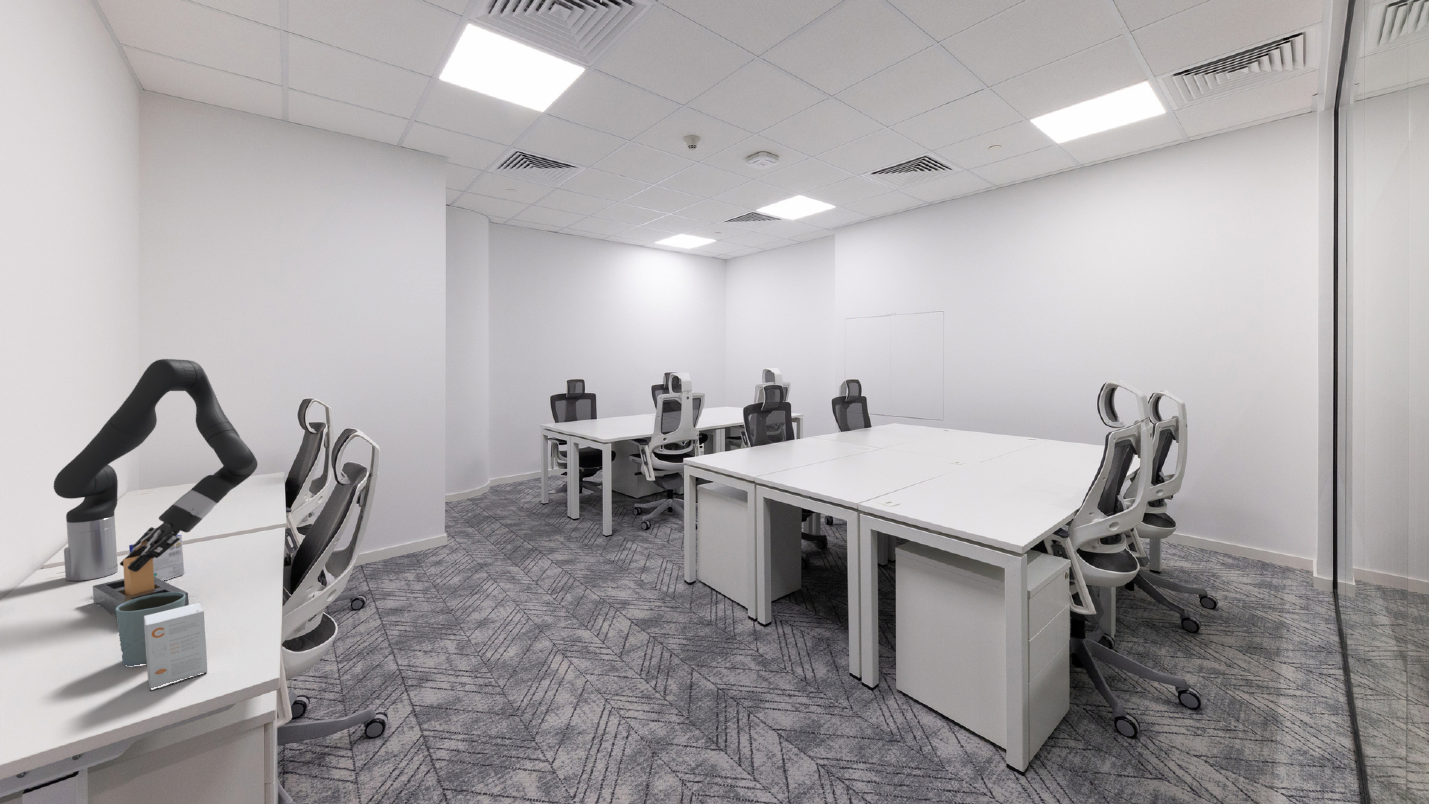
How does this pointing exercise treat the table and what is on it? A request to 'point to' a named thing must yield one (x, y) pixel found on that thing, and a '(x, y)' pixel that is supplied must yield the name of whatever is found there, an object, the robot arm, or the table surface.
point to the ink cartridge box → (168, 562)
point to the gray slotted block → (114, 596)
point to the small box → (175, 644)
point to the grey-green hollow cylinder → (141, 622)
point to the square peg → (138, 577)
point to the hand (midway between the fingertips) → (127, 568)
